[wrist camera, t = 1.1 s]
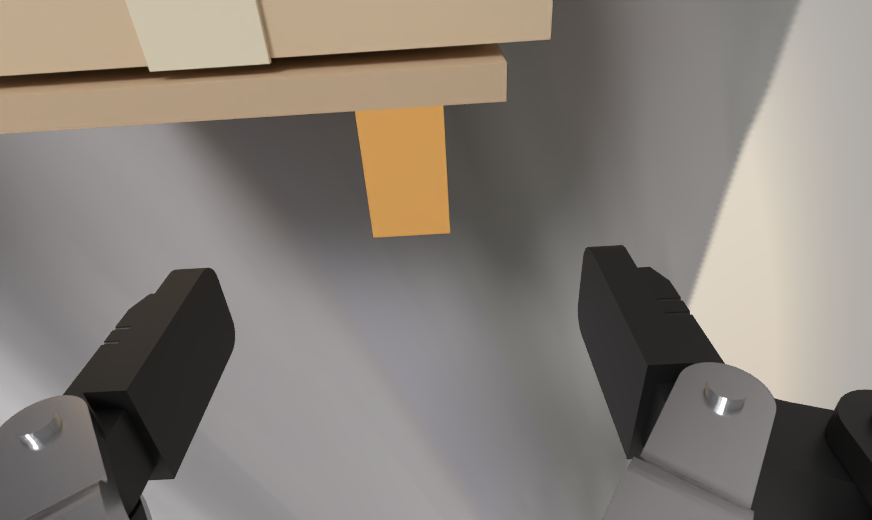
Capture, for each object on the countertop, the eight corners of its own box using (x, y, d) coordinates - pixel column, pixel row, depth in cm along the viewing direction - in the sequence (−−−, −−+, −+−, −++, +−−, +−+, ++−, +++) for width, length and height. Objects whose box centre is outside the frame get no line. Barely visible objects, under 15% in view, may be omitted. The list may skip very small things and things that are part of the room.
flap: (112, 27, 23) (-96, 102, 14) (475, 2, 23) (507, 62, 14) (152, 136, 26) (1, 259, 17) (477, 116, 26) (504, 230, 16)
